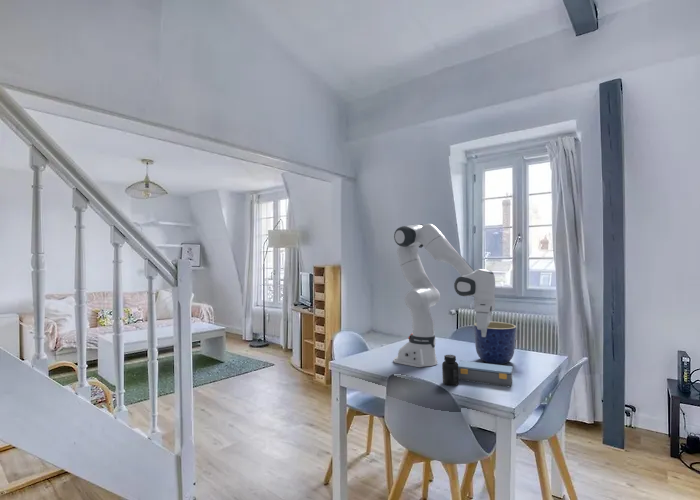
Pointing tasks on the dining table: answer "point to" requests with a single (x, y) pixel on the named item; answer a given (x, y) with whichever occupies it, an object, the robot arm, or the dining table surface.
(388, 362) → the dining table surface
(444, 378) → the supplement bottle
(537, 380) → the dining table surface
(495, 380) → the grey rectangular open box
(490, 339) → the planter
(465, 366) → the cover
